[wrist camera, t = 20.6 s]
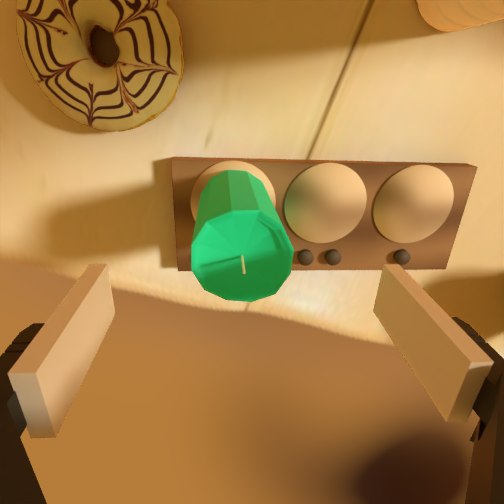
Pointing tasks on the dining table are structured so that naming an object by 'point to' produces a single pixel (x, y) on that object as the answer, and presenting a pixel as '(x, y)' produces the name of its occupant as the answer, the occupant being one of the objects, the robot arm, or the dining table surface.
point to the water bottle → (460, 13)
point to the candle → (239, 239)
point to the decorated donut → (91, 69)
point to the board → (342, 209)
